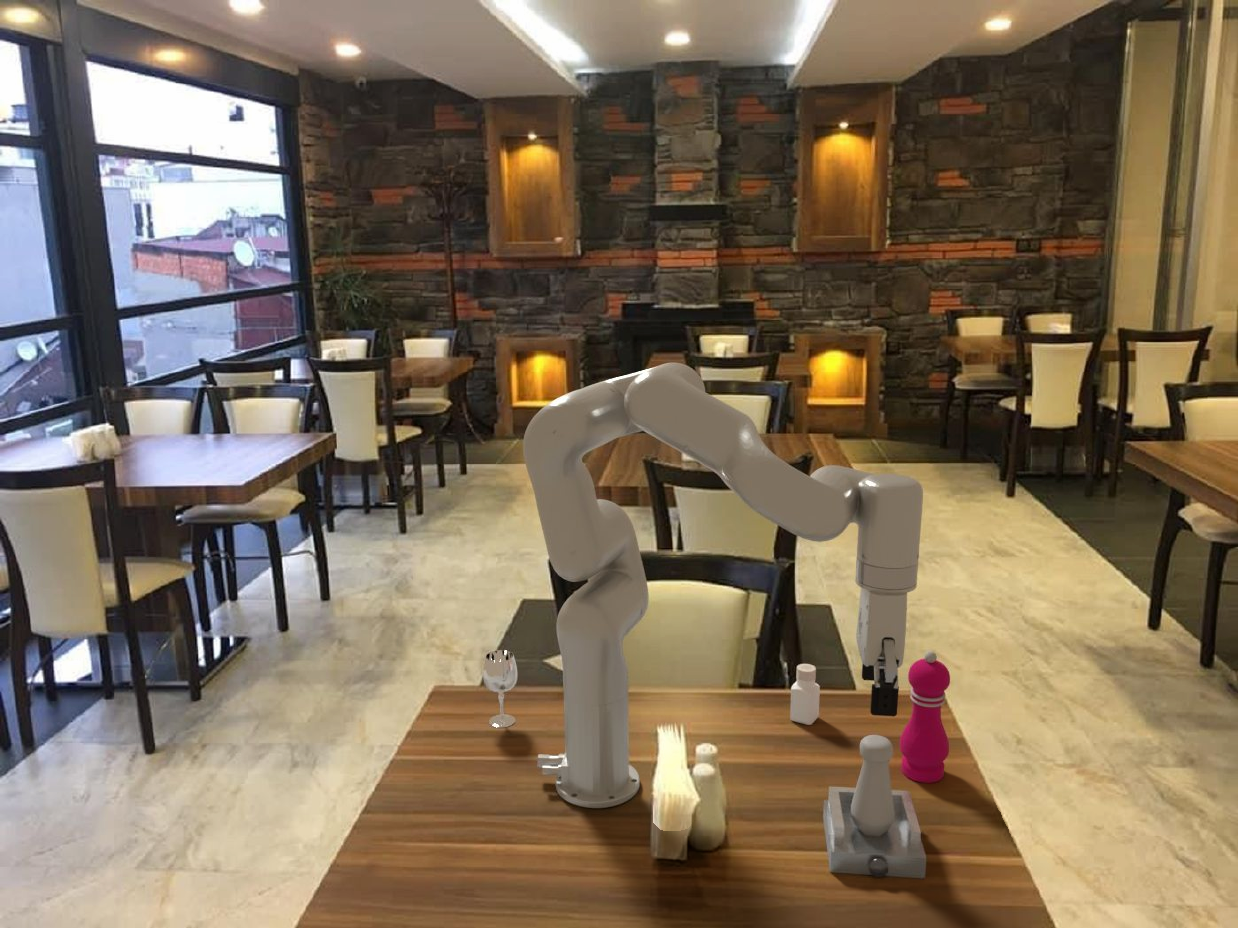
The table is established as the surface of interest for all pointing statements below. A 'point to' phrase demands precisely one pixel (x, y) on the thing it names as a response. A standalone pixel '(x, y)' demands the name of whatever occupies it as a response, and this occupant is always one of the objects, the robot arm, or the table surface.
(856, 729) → the table surface
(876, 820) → the salt shaker
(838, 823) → the grey square tray
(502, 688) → the wineglass
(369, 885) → the table surface
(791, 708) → the salt shaker
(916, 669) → the pepper mill
